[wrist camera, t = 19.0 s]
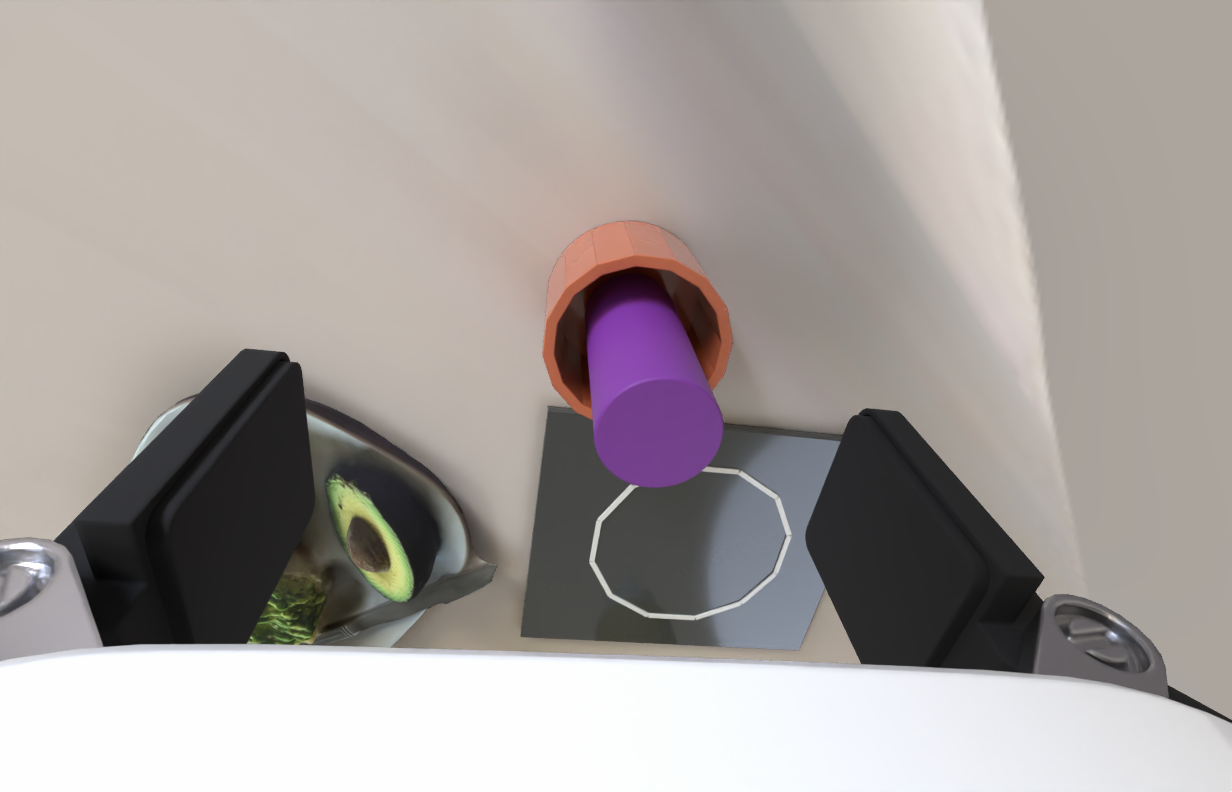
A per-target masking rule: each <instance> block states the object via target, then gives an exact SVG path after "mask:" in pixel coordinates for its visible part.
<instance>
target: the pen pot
mask: <svg viewBox="0 0 1232 792" xmlns="http://www.w3.org/2000/svg"><path fill="white" fill-rule="evenodd" d="M622 274H641V275H645V276H648V277H650V278H652V279H654V280H656V281H657V282H659V283H660V284H661V285H662V286H663V287H664V288H665V289H666V290H667V292H668V293H669V295H670V297H671V299H672V301H673V304H674V306H675V308H676V310H677V313H678V315H679V317H680V320H681V322H682V324H683V326H684V329H685V331H686V333H687V336H688V338H689V340H690V342H691V345H692V347H693V349H694V351H695V354H696V356H697V358H698V361H699V363H700V365H701V367H702V370H703V372H704V374H705V377H706V379H707V381H708V383H709V386H710V388H711V390H712V391H713V390H714V388H715V387H716V386H717V384H718V383H719V382H720V380H721V379H722V378H723V376H724V374H725V370H726V367H727V363H728V359H729V355H730V351H731V348H732V344H733V339H732V333H731V327H730V320H729V314H728V309H727V307H726V305H725V303H724V302H723V300H722V299H721V297H720V296H719V294H718V293H717V291H716V289H715V288H714V286H713V285H712V283H711V282H710V280H709V279H708V277H707V275H706V274H705V272H704V271H703V269H702V268H701V266H700V265H699V263H698V262H697V260H696V259H695V257H694V256H693V254H692V253H691V252H690V250H689V249H688V247H687V246H686V244H684V243H683V242H682V241H680V240H679V239H678V238H677V237H675V236H674V235H673V234H671V233H670V232H668V231H666V230H664V229H662V228H660V227H658V226H655V225H652V224H648V223H644V222H637V221H618V222H613V223H608V224H605V225H602V226H599V227H596V228H594V229H592V230H590V231H588V232H586V233H585V234H583V235H582V236H580V237H578V238H577V239H576V240H575V241H574V242H573V243H571V244H570V245H569V246H568V248H567V249H566V250H565V251H564V252H563V253H562V255H561V256H560V258H559V259H558V261H557V263H556V265H555V267H554V269H553V271H552V274H551V276H550V278H549V282H548V290H547V301H546V310H545V324H544V338H543V352H542V354H543V359H544V362H545V365H546V368H547V371H548V374H549V377H550V380H551V383H552V386H553V387H554V389H555V390H556V391H557V392H558V393H559V394H560V395H561V396H562V397H563V399H564V400H565V401H566V402H567V403H568V404H569V405H570V406H571V407H572V409H573V410H574V411H576V412H577V413H579V414H581V415H583V416H585V417H587V418H589V419H591V420H593V417H592V404H591V391H590V379H589V366H588V353H587V340H586V328H585V310H586V306H587V303H588V301H589V299H590V297H591V295H592V294H593V292H594V291H595V290H596V289H597V288H598V287H599V286H600V285H601V284H602V283H603V282H605V281H607V280H608V279H610V278H612V277H615V276H618V275H622Z"/></svg>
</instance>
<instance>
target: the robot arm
mask: <svg viewBox="0 0 1232 792" xmlns="http://www.w3.org/2000/svg"><path fill="white" fill-rule="evenodd" d="M314 507H315V487H314V478H313V469H312V459H311V450H310V441H309V432H308V423H307V414H306V405H305V396H304V386H303V377H302V370H301V367H300V364H298V363H297V362H290V359H289V357H288V355H287V354H286V353H285V352H276V351H265V350H255V349H244V350H242V351H241V352H240V353H239V354H238V355H237V356H236V357H235V358H234V359H233V360H232V361H231V362H230V363H229V364H228V365H227V366H226V367H225V368H224V369H223V370H222V371H221V372H220V373H219V374H218V375H217V376H216V377H215V378H214V379H213V380H212V381H211V382H210V383H209V384H208V385H207V386H206V387H205V388H204V389H203V390H202V391H201V392H200V393H199V394H198V395H197V396H196V397H195V398H194V399H193V400H192V401H191V402H190V403H189V404H188V405H187V406H186V407H185V408H184V409H183V410H182V411H181V412H180V413H179V414H178V415H177V416H176V417H175V418H174V419H173V420H172V421H171V422H170V423H169V424H168V425H167V426H166V427H165V429H164V430H163V431H162V432H161V433H160V434H159V435H158V436H157V437H156V438H155V439H154V440H153V441H152V442H151V443H150V444H149V445H148V446H147V447H146V448H145V449H144V450H143V451H142V452H141V453H140V454H139V455H138V456H137V457H136V458H135V459H134V460H133V461H132V462H131V463H130V464H129V465H128V466H127V467H126V468H125V469H124V470H123V471H122V472H121V473H120V474H119V475H118V476H117V477H116V478H115V479H114V480H113V481H112V482H111V483H110V484H109V485H108V486H107V487H106V488H105V489H104V490H103V491H102V492H101V493H100V494H99V495H98V496H97V497H96V498H95V499H94V500H93V501H92V502H91V503H90V504H89V505H88V506H87V507H86V508H85V509H84V510H83V511H82V512H81V513H80V514H79V515H78V516H77V517H76V518H75V519H74V521H73V522H72V523H71V524H70V525H69V526H68V527H67V528H66V529H65V530H64V531H63V532H62V533H61V534H60V535H59V536H58V537H57V538H56V539H55V540H54V541H51V540H47V539H39V538H30V537H28V538H15V539H4V540H0V792H1232V720H1230V719H1229V718H1227V717H1225V716H1223V715H1221V714H1220V713H1218V712H1216V711H1214V710H1212V709H1210V708H1209V707H1207V706H1205V705H1203V704H1201V703H1200V702H1198V701H1196V700H1194V699H1192V698H1190V697H1189V696H1187V695H1185V694H1183V693H1181V692H1180V691H1178V690H1176V689H1174V688H1172V687H1170V686H1168V685H1167V676H1166V668H1165V664H1164V662H1163V659H1162V656H1161V654H1160V653H1159V651H1158V650H1157V648H1156V647H1155V646H1154V644H1153V643H1152V642H1151V640H1150V639H1148V638H1147V637H1146V636H1145V635H1144V634H1143V633H1142V632H1141V631H1140V630H1139V629H1138V628H1137V627H1136V626H1134V625H1133V624H1132V623H1130V622H1129V621H1127V620H1126V619H1125V618H1123V617H1122V616H1121V615H1119V614H1117V613H1115V612H1113V611H1112V610H1110V609H1108V608H1106V607H1104V606H1103V605H1101V604H1098V603H1096V602H1093V601H1091V600H1088V599H1086V598H1082V597H1078V596H1073V595H1069V594H1061V595H1053V596H1051V597H1049V598H1046V599H1045V601H1044V602H1043V601H1042V599H1041V598H1040V597H1039V596H1038V595H1037V593H1036V592H1035V591H1036V590H1037V588H1038V587H1039V585H1040V584H1041V582H1042V581H1043V579H1044V578H1045V577H1044V576H1043V575H1042V573H1041V572H1040V571H1039V570H1038V569H1037V568H1036V567H1035V566H1034V564H1033V563H1032V562H1031V561H1030V560H1029V559H1028V558H1027V556H1026V555H1025V554H1024V553H1023V552H1022V551H1021V550H1020V548H1019V547H1018V546H1017V545H1016V544H1015V543H1014V542H1013V540H1012V539H1011V538H1010V537H1009V536H1008V535H1007V534H1006V532H1005V531H1004V530H1003V529H1002V528H1001V527H1000V526H999V524H998V523H997V522H996V521H995V520H994V519H993V518H992V516H991V515H990V514H989V513H988V512H987V511H986V510H985V508H984V507H983V506H982V505H981V504H980V503H979V502H978V500H977V499H976V498H975V497H974V496H973V495H972V494H971V493H970V491H969V490H968V489H967V488H966V487H965V486H964V485H963V483H962V482H961V481H960V480H959V479H958V478H957V477H956V475H955V474H954V473H953V472H952V471H951V470H950V469H949V467H948V466H947V465H946V464H945V463H944V462H943V461H942V459H941V458H940V457H939V456H938V455H937V454H936V453H935V451H934V450H933V449H932V448H931V447H930V446H929V445H928V443H927V442H926V441H925V440H924V439H923V438H922V437H921V435H920V434H919V433H918V432H917V431H916V430H915V429H914V427H913V426H912V425H911V424H910V423H909V422H908V421H907V420H906V418H905V417H904V416H903V415H902V414H901V413H899V412H898V411H890V410H879V409H869V408H866V409H864V410H862V411H861V412H860V413H859V415H855V416H852V418H851V419H850V420H849V422H848V424H847V427H846V429H845V432H844V434H843V437H842V439H841V442H840V444H839V447H838V449H837V452H836V455H835V457H834V460H833V462H832V465H831V467H830V470H829V472H828V475H827V477H826V480H825V482H824V485H823V487H822V490H821V493H820V495H819V498H818V500H817V503H816V505H815V508H814V510H813V513H812V515H811V518H810V520H809V523H808V526H807V529H806V534H805V541H806V546H807V549H808V551H809V554H810V556H811V558H812V560H813V562H814V564H815V566H816V568H817V571H818V573H819V575H820V577H821V579H822V581H823V583H824V585H825V588H826V590H827V592H828V594H829V596H830V598H831V600H832V603H833V605H834V607H835V609H836V611H837V613H838V615H839V617H840V620H841V622H842V624H843V626H844V628H845V630H846V632H847V634H848V637H849V639H850V641H851V643H852V645H853V647H854V649H855V652H856V654H857V656H858V658H859V660H860V662H861V664H843V663H820V662H796V661H772V660H747V659H720V658H693V657H666V656H639V655H610V654H581V653H553V652H522V651H489V650H456V649H423V648H390V647H357V646H318V645H275V644H247V642H248V640H249V639H250V637H251V635H252V633H253V631H254V629H255V627H256V625H257V623H258V621H259V619H260V617H261V615H262V613H263V611H264V609H265V607H266V605H267V603H268V601H269V599H270V597H271V596H272V594H273V592H274V590H275V588H276V586H277V584H278V582H279V580H280V578H281V576H282V574H283V572H284V570H285V568H286V566H287V564H288V562H289V560H290V558H291V556H292V554H293V553H294V551H295V549H296V547H297V545H298V543H299V541H300V539H301V537H302V535H303V533H304V531H305V529H306V527H307V525H308V523H309V521H310V519H311V517H312V515H313V511H314Z"/></svg>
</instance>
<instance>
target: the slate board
mask: <svg viewBox="0 0 1232 792" xmlns="http://www.w3.org/2000/svg"><path fill="white" fill-rule="evenodd" d="M723 425H724V430H723V438H722V442H721V445H720V447H719V450H718V452H717V454H716V455H715V457H714V458H713V460H712V461H711V462H710V463H709V465H708V466H707V467H706V468H705V469H703V470H702V471H701V472H700V473H699V474H697V475H696V476H694V477H692V478H691V479H689V480H687V481H685V482H682V483H680V484H676V485H673V486H668V487H661V488H647V487H640V486H636V485H632V484H630V483H627V482H625V481H623V480H621V479H619V478H618V477H616V476H615V475H614V474H612V473H611V472H610V471H609V470H608V469H607V468H606V467H605V465H604V464H603V463H602V461H601V460H600V458H599V456H598V453H597V451H596V447H595V442H594V429H593V420H591V419H589V418H587V417H585V416H583V415H581V414H579V413H577V412H576V411H574V410H573V409H572V408H562V407H552V406H548V410H547V418H546V426H545V435H544V443H543V451H542V459H541V468H540V476H539V484H538V492H537V501H536V509H535V517H534V526H533V534H532V542H531V550H530V559H529V567H528V575H527V583H526V592H525V600H524V608H523V617H522V625H521V635H520V636H521V637H533V638H554V639H574V640H594V641H614V642H635V643H655V644H675V645H696V646H716V647H736V648H757V649H777V650H797V651H798V650H799V649H800V646H801V644H802V641H803V639H804V637H805V634H806V632H807V630H808V627H809V625H810V622H811V620H812V618H813V615H814V613H815V611H816V608H817V606H818V603H819V601H820V599H821V596H822V594H823V592H824V589H825V585H824V583H823V581H822V579H821V577H820V575H819V573H818V571H817V568H816V566H815V564H814V562H813V560H812V558H811V556H810V554H809V551H808V549H807V546H806V541H805V534H806V529H807V526H808V523H809V520H810V518H811V515H812V513H813V510H814V508H815V505H816V503H817V500H818V498H819V495H820V493H821V490H822V487H823V485H824V482H825V480H826V477H827V475H828V472H829V470H830V467H831V465H832V462H833V460H834V457H835V455H836V452H837V449H838V447H839V444H840V442H841V439H842V437H843V435H833V434H823V433H813V432H803V431H793V430H783V429H773V428H763V427H753V426H743V425H733V424H723Z"/></svg>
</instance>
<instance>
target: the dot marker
mask: <svg viewBox="0 0 1232 792" xmlns="http://www.w3.org/2000/svg"><path fill="white" fill-rule="evenodd" d="M585 328H586V340H587V353H588V366H589V379H590V391H591V404H592V417H593V429H594V442H595V447H596V451H597V453H598V456H599V458H600V460H601V461H602V463H603V464H604V465H605V467H606V468H607V469H608V470H609V471H610V472H611V473H612V474H614V475H615V476H616V477H618V478H619V479H621V480H623V481H625V482H627V483H630V484H632V485H636V486H640V487H647V488H661V487H668V486H673V485H676V484H680V483H682V482H685V481H687V480H689V479H691V478H692V477H694V476H696V475H697V474H699V473H700V472H701V471H702V470H703V469H705V468H706V467H707V466H708V465H709V463H710V462H711V461H712V460H713V458H714V457H715V455H716V454H717V452H718V450H719V447H720V445H721V442H722V438H723V430H724V425H723V417H722V414H721V411H720V409H719V406H718V404H717V402H716V399H715V397H714V395H713V393H712V390H711V388H710V386H709V383H708V381H707V379H706V377H705V374H704V372H703V370H702V367H701V365H700V363H699V361H698V358H697V356H696V354H695V351H694V349H693V347H692V345H691V342H690V340H689V338H688V336H687V333H686V331H685V329H684V326H683V324H682V322H681V320H680V317H679V315H678V313H677V310H676V308H675V306H674V304H673V301H672V299H671V297H670V295H669V293H668V292H667V290H666V289H665V288H664V287H663V286H662V285H661V284H660V283H659V282H657V281H656V280H654V279H652V278H650V277H648V276H645V275H641V274H622V275H618V276H615V277H612V278H610V279H608V280H607V281H605V282H603V283H602V284H601V285H600V286H599V287H598V288H597V289H596V290H595V291H594V292H593V294H592V295H591V297H590V299H589V301H588V303H587V306H586V310H585Z"/></svg>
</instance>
